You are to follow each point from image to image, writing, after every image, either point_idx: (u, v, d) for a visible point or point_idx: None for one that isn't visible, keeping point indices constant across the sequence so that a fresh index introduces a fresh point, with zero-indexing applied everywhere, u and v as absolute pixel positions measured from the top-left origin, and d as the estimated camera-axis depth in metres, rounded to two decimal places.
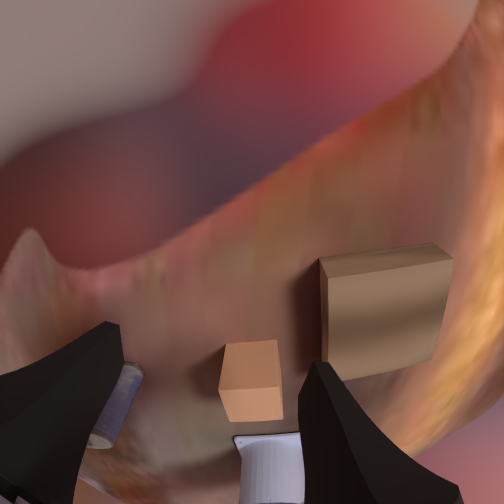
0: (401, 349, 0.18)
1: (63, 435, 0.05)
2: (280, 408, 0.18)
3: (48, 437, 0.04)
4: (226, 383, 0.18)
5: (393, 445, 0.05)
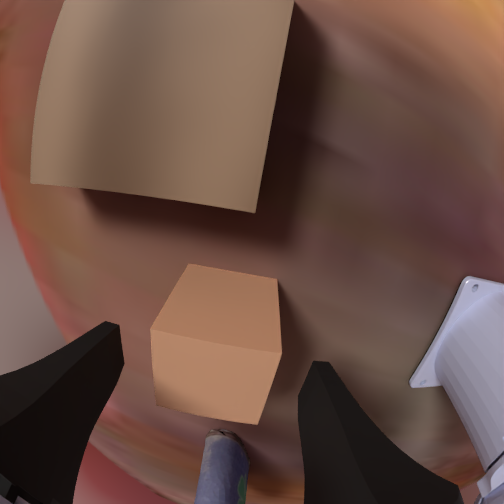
0: (217, 25, 0.06)
1: (63, 435, 0.05)
2: (231, 348, 0.08)
3: (48, 437, 0.04)
4: None
5: (393, 445, 0.05)
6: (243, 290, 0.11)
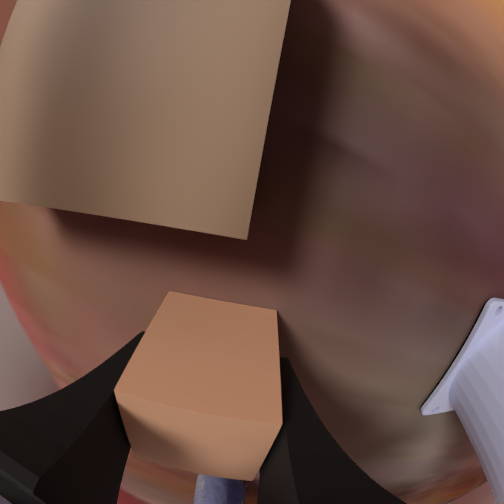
0: None
1: (109, 455, 0.05)
2: (217, 418, 0.06)
3: (97, 460, 0.05)
4: None
5: (339, 450, 0.05)
6: (234, 329, 0.09)
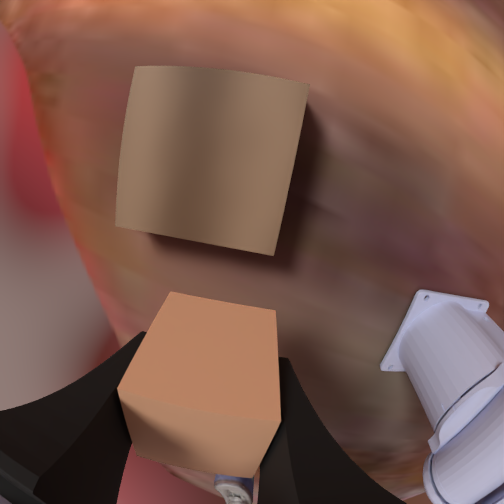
0: (253, 137, 0.13)
1: (109, 455, 0.05)
2: (218, 415, 0.06)
3: (97, 460, 0.05)
4: None
5: (340, 450, 0.05)
6: (234, 329, 0.09)
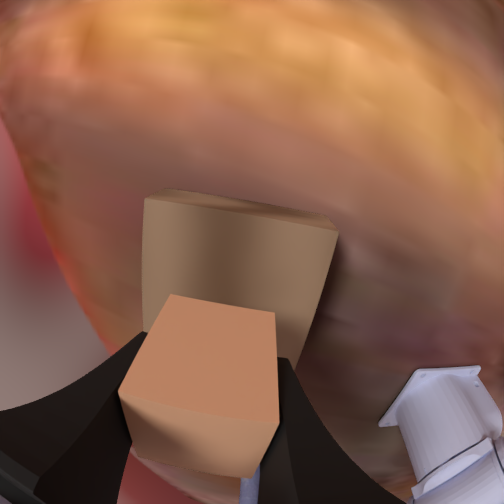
0: (278, 287, 0.14)
1: (109, 455, 0.05)
2: (217, 417, 0.06)
3: (97, 460, 0.05)
4: None
5: (340, 450, 0.05)
6: (233, 332, 0.09)
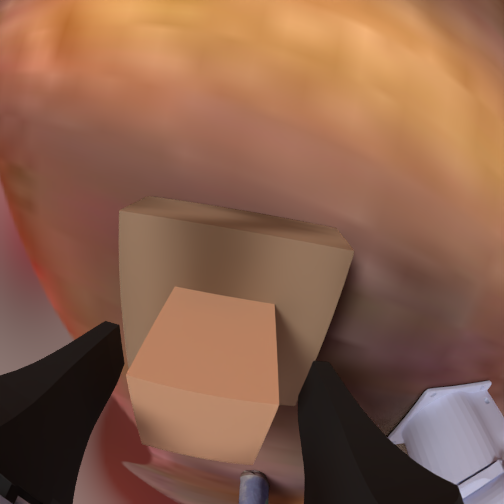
0: (280, 316, 0.11)
1: (63, 435, 0.05)
2: (220, 399, 0.06)
3: (48, 437, 0.04)
4: None
5: (393, 445, 0.05)
6: (235, 321, 0.10)
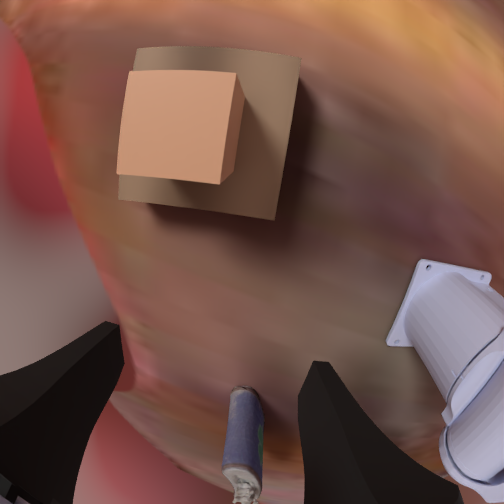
0: (250, 107, 0.13)
1: (63, 435, 0.05)
2: (193, 72, 0.08)
3: (48, 437, 0.04)
4: None
5: (393, 445, 0.05)
6: None
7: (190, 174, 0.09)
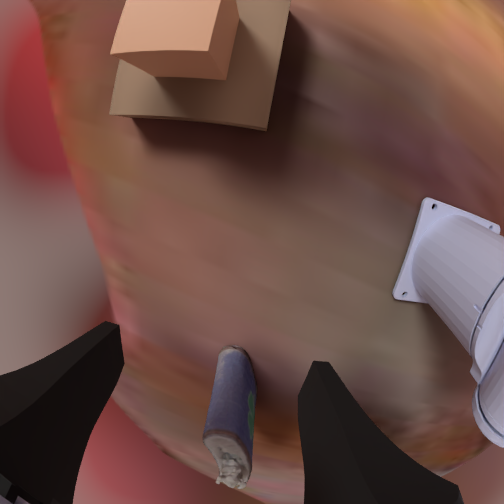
0: (244, 26, 0.11)
1: (63, 435, 0.05)
2: None
3: (48, 437, 0.04)
4: None
5: (393, 445, 0.05)
6: None
7: (180, 44, 0.08)
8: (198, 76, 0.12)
